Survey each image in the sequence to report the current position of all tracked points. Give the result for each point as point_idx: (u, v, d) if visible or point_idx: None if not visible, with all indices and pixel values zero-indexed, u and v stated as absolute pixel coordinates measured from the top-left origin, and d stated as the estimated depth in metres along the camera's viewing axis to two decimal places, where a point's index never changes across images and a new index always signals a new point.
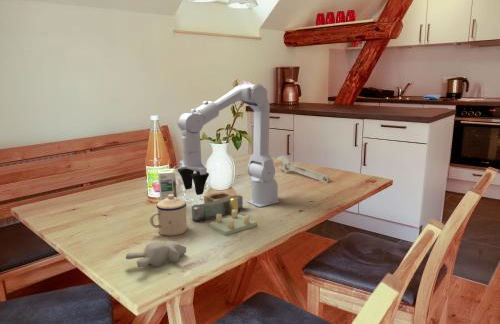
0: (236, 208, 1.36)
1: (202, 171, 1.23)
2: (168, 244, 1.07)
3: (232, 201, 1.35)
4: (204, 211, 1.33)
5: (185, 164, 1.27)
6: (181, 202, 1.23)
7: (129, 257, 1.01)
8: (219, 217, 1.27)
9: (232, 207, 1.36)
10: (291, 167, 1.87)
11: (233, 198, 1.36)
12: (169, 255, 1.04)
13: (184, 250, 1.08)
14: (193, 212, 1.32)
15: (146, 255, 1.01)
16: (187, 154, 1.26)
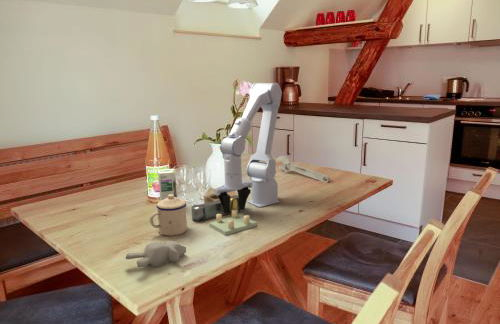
0: (236, 208, 1.36)
1: (214, 191, 1.32)
2: (168, 244, 1.07)
3: (232, 201, 1.35)
4: (204, 211, 1.33)
5: None
6: (181, 202, 1.23)
7: (129, 257, 1.01)
8: (219, 217, 1.27)
9: (232, 207, 1.36)
10: (291, 167, 1.87)
11: (233, 198, 1.36)
12: (169, 255, 1.04)
13: (184, 250, 1.08)
14: (193, 212, 1.32)
15: (146, 255, 1.01)
16: None
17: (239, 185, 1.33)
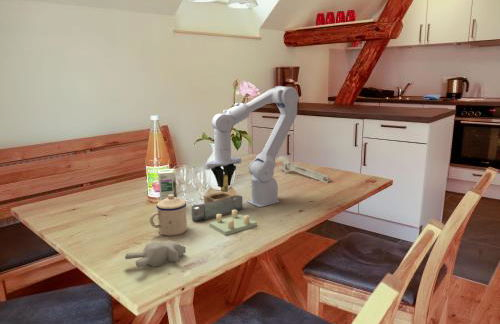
0: (226, 184, 1.41)
1: (204, 166, 1.37)
2: (167, 244, 1.07)
3: None
4: (204, 211, 1.33)
5: None
6: (181, 202, 1.23)
7: (128, 257, 1.01)
8: (219, 217, 1.27)
9: None
10: (291, 167, 1.87)
11: (223, 174, 1.41)
12: (168, 255, 1.04)
13: (183, 250, 1.08)
14: (193, 212, 1.32)
15: (145, 255, 1.02)
16: None
17: (228, 160, 1.39)
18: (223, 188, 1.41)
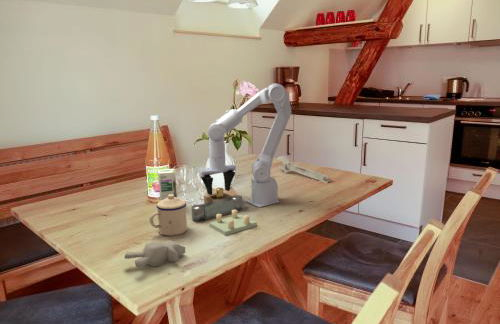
0: None
1: (199, 173, 1.42)
2: (167, 244, 1.07)
3: (218, 191, 1.46)
4: (204, 211, 1.33)
5: None
6: (181, 202, 1.23)
7: (128, 256, 1.01)
8: (219, 217, 1.27)
9: (217, 197, 1.47)
10: (291, 167, 1.87)
11: (219, 188, 1.47)
12: (168, 255, 1.04)
13: (183, 250, 1.08)
14: (193, 212, 1.32)
15: (145, 255, 1.02)
16: None
17: (223, 168, 1.44)
18: None
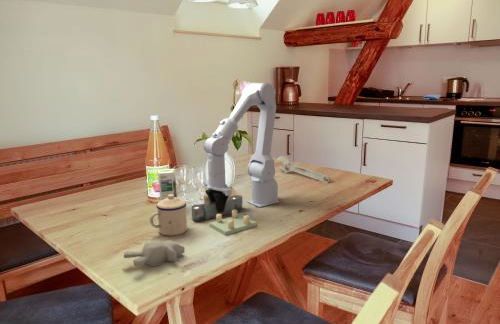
0: None
1: (227, 192, 1.30)
2: (166, 244, 1.07)
3: None
4: (204, 211, 1.33)
5: (210, 185, 1.34)
6: (181, 202, 1.23)
7: (127, 256, 1.01)
8: (219, 217, 1.27)
9: None
10: (291, 167, 1.86)
11: None
12: (167, 255, 1.04)
13: (182, 250, 1.08)
14: (193, 212, 1.32)
15: (143, 254, 1.02)
16: (213, 176, 1.33)
17: None
18: None
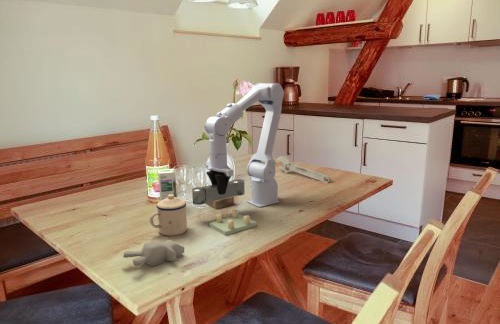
0: None
1: (229, 173, 1.27)
2: (166, 243, 1.07)
3: None
4: (205, 194, 1.29)
5: (212, 166, 1.31)
6: (181, 202, 1.23)
7: (126, 255, 1.02)
8: (219, 217, 1.27)
9: None
10: (291, 167, 1.86)
11: None
12: (166, 255, 1.05)
13: (182, 250, 1.08)
14: (194, 194, 1.29)
15: (143, 254, 1.02)
16: (214, 156, 1.29)
17: None
18: None
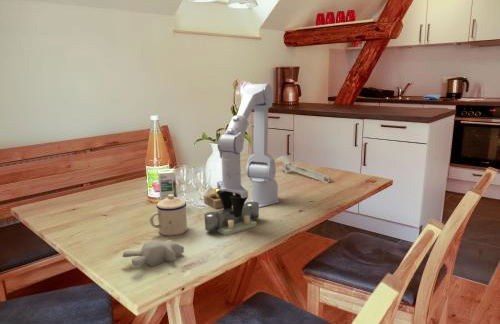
0: None
1: (244, 194, 1.19)
2: (166, 243, 1.07)
3: (216, 191, 1.46)
4: (218, 219, 1.22)
5: (225, 186, 1.23)
6: (181, 202, 1.23)
7: (126, 255, 1.02)
8: None
9: (216, 197, 1.47)
10: (292, 167, 1.86)
11: (218, 188, 1.47)
12: (166, 254, 1.05)
13: (181, 250, 1.08)
14: (206, 220, 1.21)
15: (142, 254, 1.02)
16: (227, 176, 1.22)
17: None
18: None
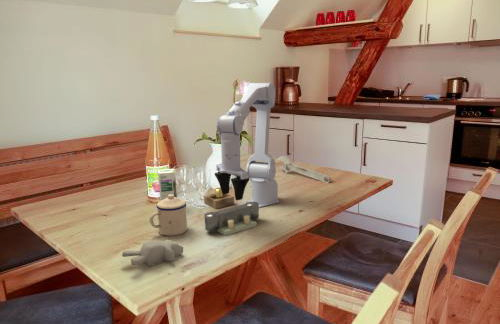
0: None
1: (243, 176, 1.18)
2: (165, 243, 1.07)
3: (216, 191, 1.46)
4: (218, 219, 1.22)
5: (224, 168, 1.22)
6: (181, 202, 1.23)
7: (125, 255, 1.02)
8: None
9: (216, 197, 1.47)
10: (292, 167, 1.86)
11: (218, 189, 1.47)
12: (165, 254, 1.05)
13: (181, 250, 1.08)
14: (206, 220, 1.21)
15: (141, 253, 1.02)
16: (227, 158, 1.20)
17: None
18: None
